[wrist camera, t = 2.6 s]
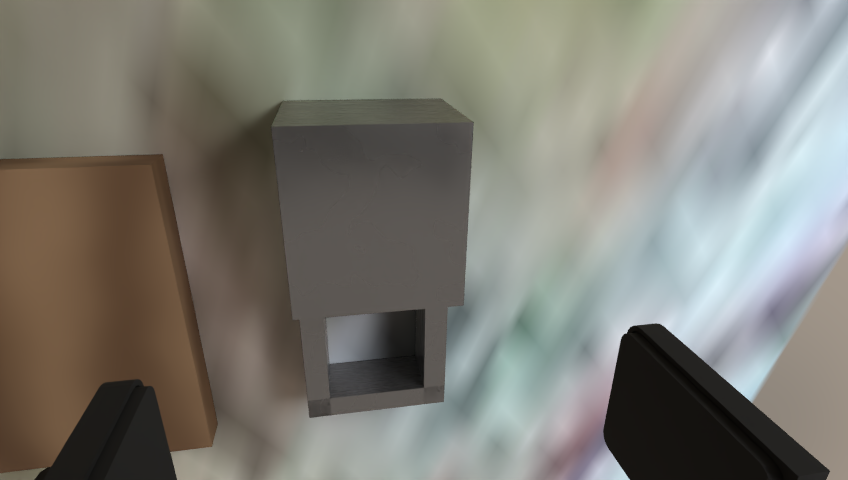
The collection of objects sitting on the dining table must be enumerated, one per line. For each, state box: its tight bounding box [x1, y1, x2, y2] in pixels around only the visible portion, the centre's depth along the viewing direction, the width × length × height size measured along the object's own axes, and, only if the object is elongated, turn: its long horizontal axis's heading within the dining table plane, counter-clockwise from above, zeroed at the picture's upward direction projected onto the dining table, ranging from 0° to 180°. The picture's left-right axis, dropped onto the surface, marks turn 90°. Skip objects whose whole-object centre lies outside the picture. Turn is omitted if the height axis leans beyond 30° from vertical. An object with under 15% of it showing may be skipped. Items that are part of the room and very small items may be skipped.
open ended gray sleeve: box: [271, 99, 474, 418], centre depth 21 cm, size 14×6×5 cm, turn 179°
